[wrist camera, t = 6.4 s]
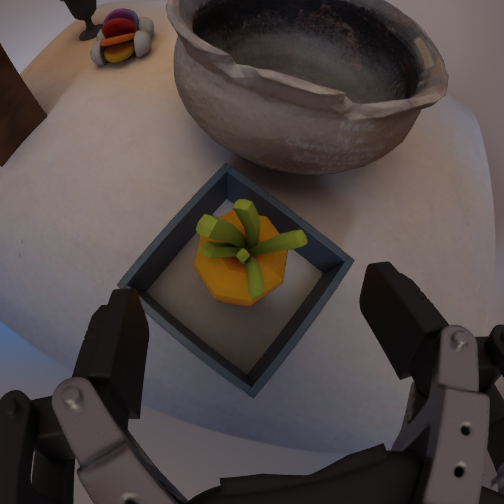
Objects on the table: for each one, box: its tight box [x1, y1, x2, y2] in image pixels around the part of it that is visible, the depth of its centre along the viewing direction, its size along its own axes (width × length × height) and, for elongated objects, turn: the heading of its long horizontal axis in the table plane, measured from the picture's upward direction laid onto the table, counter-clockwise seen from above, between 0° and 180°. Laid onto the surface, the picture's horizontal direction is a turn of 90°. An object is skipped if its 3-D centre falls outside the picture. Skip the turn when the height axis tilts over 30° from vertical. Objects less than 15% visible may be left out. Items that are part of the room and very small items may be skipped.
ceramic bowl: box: [166, 0, 449, 175], centre depth 22 cm, size 22×22×15 cm
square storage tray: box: [117, 163, 355, 398], centre depth 22 cm, size 12×12×5 cm
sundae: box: [60, 0, 103, 40], centre depth 25 cm, size 7×7×15 cm
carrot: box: [193, 199, 308, 306], centre depth 17 cm, size 5×5×15 cm
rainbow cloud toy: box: [91, 9, 154, 65], centre depth 28 cm, size 8×10×7 cm
